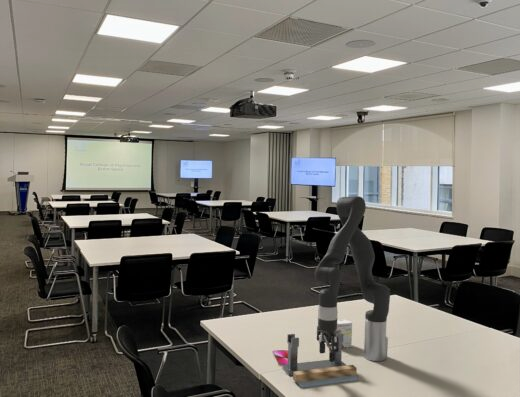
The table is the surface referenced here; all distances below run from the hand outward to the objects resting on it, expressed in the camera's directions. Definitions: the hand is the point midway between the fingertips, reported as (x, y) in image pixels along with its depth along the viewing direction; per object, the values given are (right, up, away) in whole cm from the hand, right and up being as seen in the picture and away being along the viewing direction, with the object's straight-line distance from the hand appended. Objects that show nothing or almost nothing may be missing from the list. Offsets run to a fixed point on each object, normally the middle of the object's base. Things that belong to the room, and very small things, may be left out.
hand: (327, 357), depth 173 cm
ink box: (+12, -8, +36) cm, 39 cm away
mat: (-1, -9, 0) cm, 9 cm away
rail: (-1, -8, 0) cm, 8 cm away
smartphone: (-16, -8, +20) cm, 27 cm away
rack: (-4, -8, +10) cm, 13 cm away
